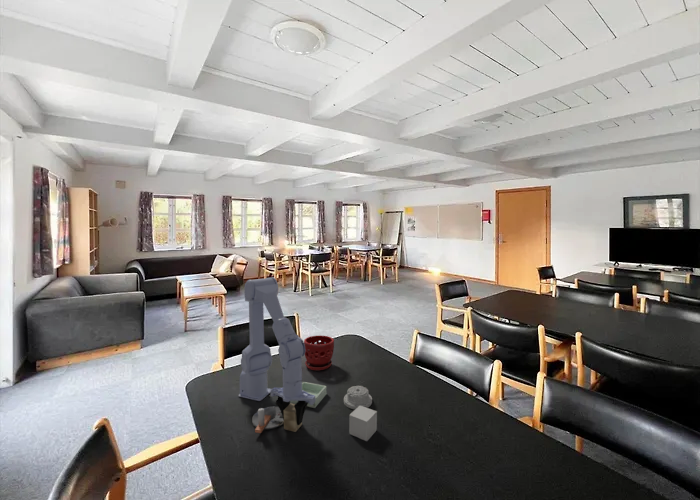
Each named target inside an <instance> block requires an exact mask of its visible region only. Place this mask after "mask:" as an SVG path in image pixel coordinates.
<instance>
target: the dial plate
mask: <svg viewBox="0 0 700 500" xmlns="http://www.w3.org/2000/svg"><path fill="white" fill-rule="evenodd" d="M268 407H269V406H267V407H264V408H263V407H262V408H263V409H264V410H265V409H266V408H268ZM272 407H274V408H275V409H276V416H275V417H274V418H272V419H270V420H269V422H268V423H267V425H266V426H265V428H264V429H263V431H265V430H266V431H267V430H273V429H276V428H279V427H281V426H283V425H284V420H283V416H282V413H281V411H280V409H279V407H278V406H272ZM251 422H252V426H253V427H255V428H256V427H257V426H258V410H257V411H256V412H255V413H254V414H253V416H252V418H251Z"/></svg>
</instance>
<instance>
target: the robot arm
mask: <svg viewBox="0 0 700 500" xmlns="http://www.w3.org/2000/svg"><path fill="white" fill-rule="evenodd" d="M278 294H279V283H278V281H277V279H276V277H274V276H271V277H266V278H265V277H263V278H258V279H257V278H256V279H248V280H246V282H245V284H244V300H245V302H248V322H249V323H248V325H249V326H248V327H249V345H247V346H246V347H245V348H244V349H243V350H242V351H241V358H240V366H241V373H240V375H239V380H238V381H239V394H238V398H239V397H240V398H244V399H248V400H252V401H257V402H260V401H262V400H263V399H264V398H265V397H267V396H268V395H269V394H270V397H277V399H276V400H275V405H277V406H276V407H279V409H280V411H281V413H282V416H283V420H284V409H285V408H286V407H287V406H288V405H289V404H290V401H298V402H297V403H296V404H295V405H294V407H295V410H296V416H297V425H300V424H301V423H302V424H303V420H304V415H305V411H306V408H307V407H308V406H307V404H308V403H309V404H310V405H313V404H314V403H315V395H311V394H309V393H307V392H305V391H303V390H302V382H303V381H302V380H303V372H302V371H303V365H302V364H303V363H302V359H303V358H302V357H305V345H304V340H303V339H302V337H300V336H299V335H298V334H296V332H295V330H294V327H293V325H292V323H291V321H290V318H287V317H286V316H285V315H284V313H283V310H282V307H281V304H280V301H279V298H278ZM264 307H265V308H266V310H267V311H268V314H269V316H270V318H271V320H272V321H273V323H272V326H271V328H272V331H273V334H274V335H275V338H276V341H277V343H278V346H279V347H278V349H277V351H278V355H279V359H280V360H279V361H280V366H282V368H281V369H282V387H273V388H268V371H269V369H270V366H272V364H273V357H272V352H271V348H270V346H269V345H267V344H266V343H265V330H264V329H265V328H264V327H265V324H264V318H265V317H264V316H265V315H264Z"/></svg>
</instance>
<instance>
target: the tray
mask: <svg viewBox="0 0 700 500" xmlns="http://www.w3.org/2000/svg"><path fill="white" fill-rule="evenodd" d="M327 387H328V386H326V385H323V384H319V383H313V382H306V381H302V390H303V391H305V392H307V393H309V394H311V395H315V403H314V404H313V405H310V404H309V403H308V404H307V406H306V407H309V408H313V409H316V407H318V405H319V404H320V403H321V402H322V400H323V399H324V398H325V397H326V396H327V394H328V392H327V389H328V388H327ZM297 402H298V401H290V403H292V404H296V403H297Z"/></svg>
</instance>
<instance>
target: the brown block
mask: <svg viewBox="0 0 700 500" xmlns="http://www.w3.org/2000/svg"><path fill="white" fill-rule="evenodd" d="M294 405H295V404H294V403H290V404H289V405H288V406H287V407H286V408H285V409H284V424H283V430H286V431H291V432H295V433H296V432H297V431H298V430H299V429H300V427H301V426H302V425H303V422H302V423H301V424H300V425H297V416H296V410H295V407H294Z"/></svg>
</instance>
